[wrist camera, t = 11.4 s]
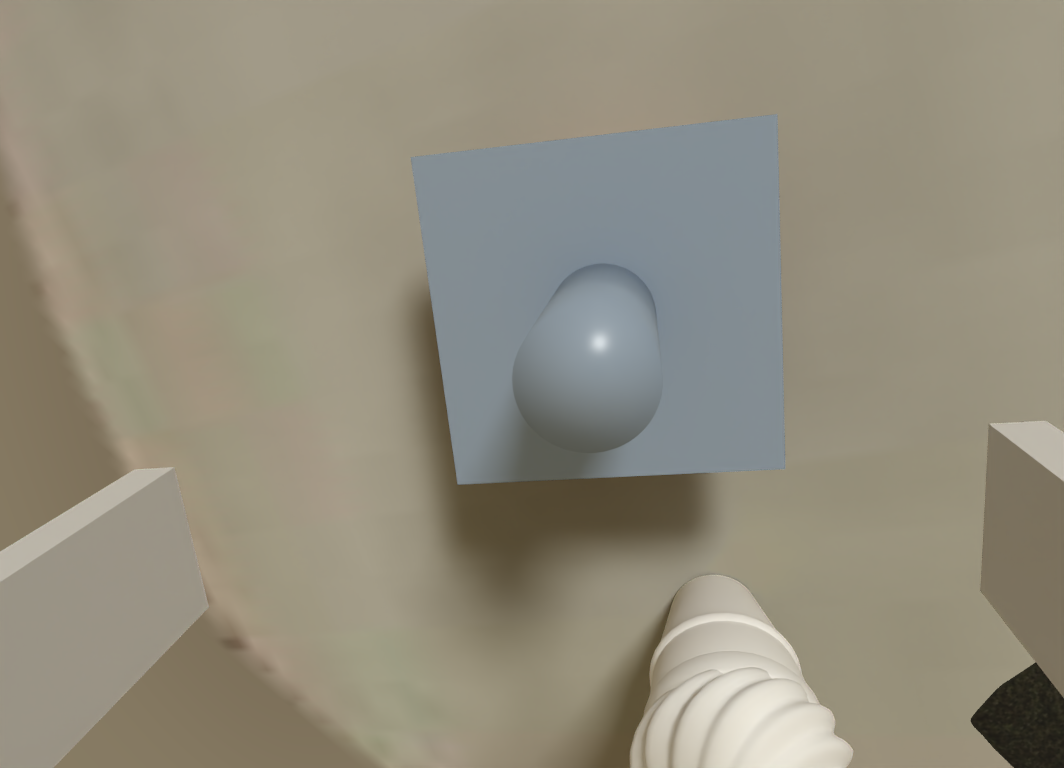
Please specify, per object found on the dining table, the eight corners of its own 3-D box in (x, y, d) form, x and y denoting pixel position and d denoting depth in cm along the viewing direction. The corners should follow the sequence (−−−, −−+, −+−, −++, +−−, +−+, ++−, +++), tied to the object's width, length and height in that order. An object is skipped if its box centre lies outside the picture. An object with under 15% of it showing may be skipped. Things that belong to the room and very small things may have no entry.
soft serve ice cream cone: (598, 604, 40) (572, 873, 25) (717, 504, 38) (769, 734, 23) (710, 707, 41) (751, 1028, 26) (834, 615, 39) (959, 910, 24)
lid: (772, 115, 27) (842, 92, 18) (780, 459, 31) (843, 593, 21) (418, 157, 29) (311, 156, 20) (462, 475, 33) (390, 604, 23)
